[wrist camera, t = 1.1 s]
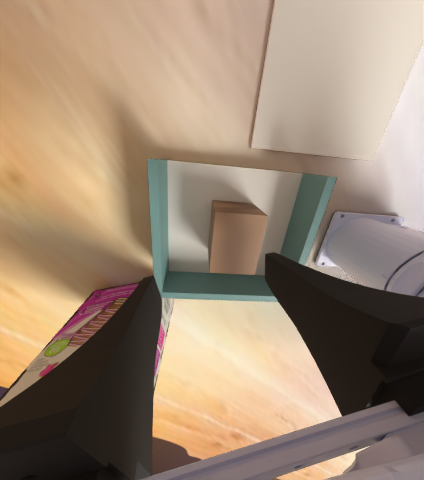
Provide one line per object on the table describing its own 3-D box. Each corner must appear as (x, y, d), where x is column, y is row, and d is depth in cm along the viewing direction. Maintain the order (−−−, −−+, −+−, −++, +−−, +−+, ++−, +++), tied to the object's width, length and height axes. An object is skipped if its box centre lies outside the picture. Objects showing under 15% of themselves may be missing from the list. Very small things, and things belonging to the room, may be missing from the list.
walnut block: (252, 203, 19) (268, 215, 15) (243, 251, 22) (254, 274, 17) (212, 199, 19) (215, 211, 14) (207, 248, 21) (209, 272, 17)
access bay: (300, 173, 20) (337, 177, 15) (272, 272, 26) (291, 302, 20) (163, 159, 19) (146, 158, 13) (165, 267, 24) (154, 297, 19)
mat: (465, -67, 13) (472, -73, 13) (369, 160, 20) (372, 160, 19) (291, -109, 12) (294, -117, 12) (250, 147, 19) (251, 147, 18)
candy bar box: (165, 274, 25) (109, 444, 10) (175, 300, 27) (141, 473, 12) (91, 288, 25) (-71, 473, 10) (106, 313, 27) (-10, 496, 12)
